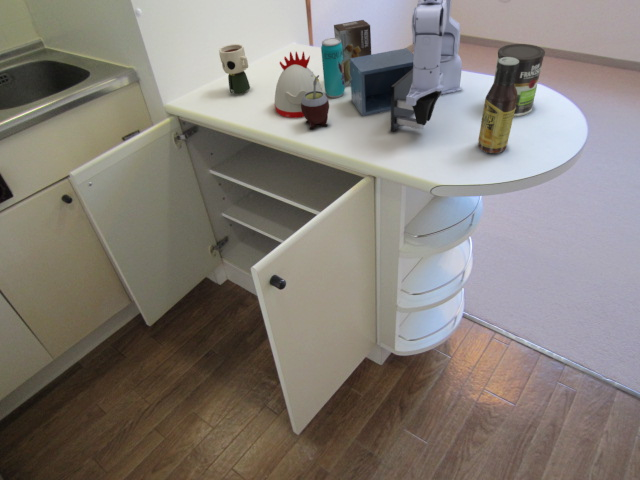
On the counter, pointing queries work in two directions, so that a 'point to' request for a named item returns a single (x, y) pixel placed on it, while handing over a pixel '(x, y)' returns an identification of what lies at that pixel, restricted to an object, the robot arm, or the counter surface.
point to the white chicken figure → (294, 86)
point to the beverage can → (333, 67)
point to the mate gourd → (315, 107)
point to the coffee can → (524, 73)
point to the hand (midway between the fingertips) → (423, 121)
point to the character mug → (235, 67)
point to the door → (402, 104)
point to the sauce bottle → (499, 108)
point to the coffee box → (353, 43)
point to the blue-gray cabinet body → (377, 79)
